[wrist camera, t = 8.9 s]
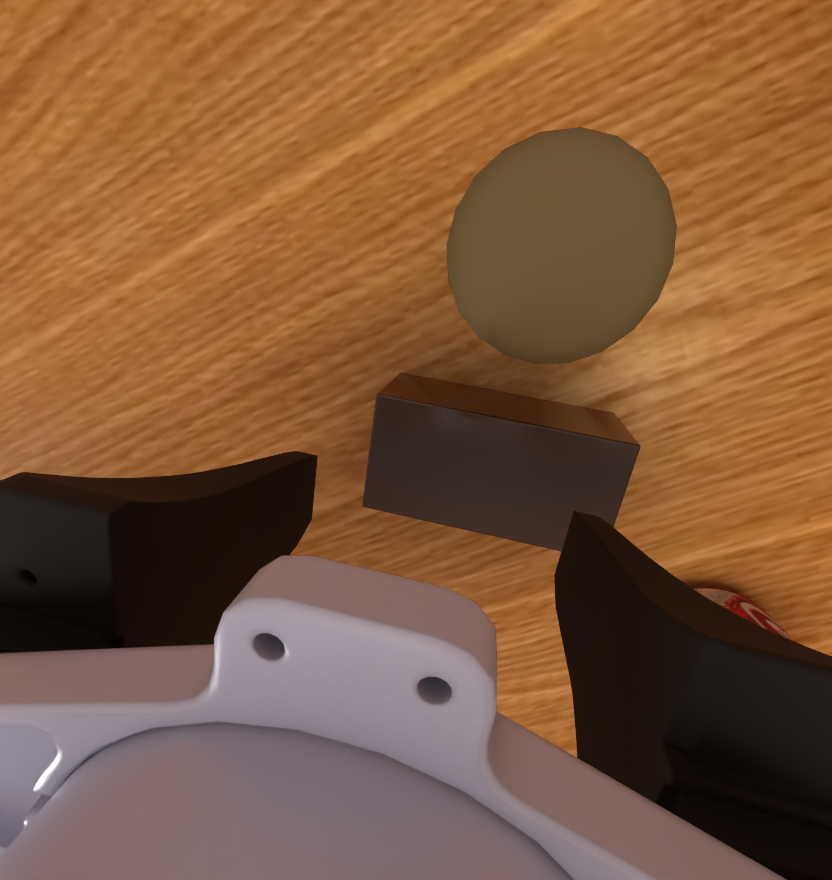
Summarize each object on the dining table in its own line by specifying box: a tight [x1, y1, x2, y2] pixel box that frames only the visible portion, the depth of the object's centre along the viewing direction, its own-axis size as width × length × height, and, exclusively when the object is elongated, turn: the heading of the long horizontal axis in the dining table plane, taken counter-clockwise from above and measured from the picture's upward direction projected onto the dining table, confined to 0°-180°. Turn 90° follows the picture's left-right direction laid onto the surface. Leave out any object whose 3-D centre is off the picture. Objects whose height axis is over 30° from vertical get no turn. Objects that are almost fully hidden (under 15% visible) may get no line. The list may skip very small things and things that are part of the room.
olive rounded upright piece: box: [447, 127, 677, 364], centre depth 15 cm, size 6×6×11 cm
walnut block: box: [363, 373, 640, 551], centre depth 21 cm, size 5×10×4 cm, turn 81°
